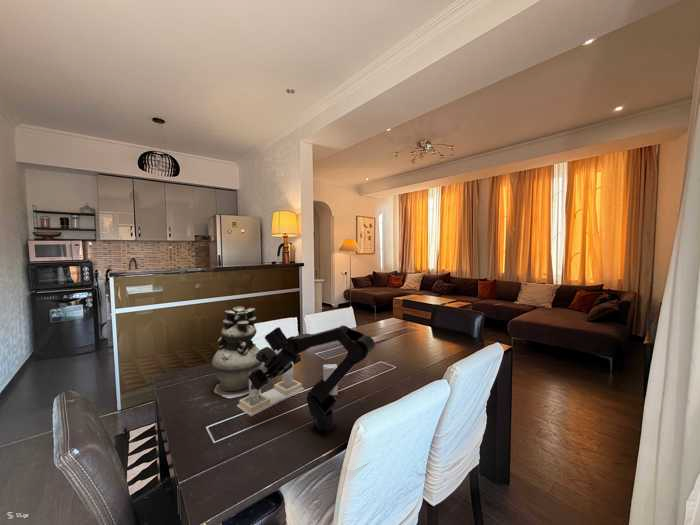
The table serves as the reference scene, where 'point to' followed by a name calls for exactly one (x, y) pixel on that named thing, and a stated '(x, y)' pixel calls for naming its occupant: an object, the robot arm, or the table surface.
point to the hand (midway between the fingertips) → (260, 383)
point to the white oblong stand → (273, 394)
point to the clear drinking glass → (254, 395)
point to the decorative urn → (236, 353)
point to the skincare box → (328, 371)
